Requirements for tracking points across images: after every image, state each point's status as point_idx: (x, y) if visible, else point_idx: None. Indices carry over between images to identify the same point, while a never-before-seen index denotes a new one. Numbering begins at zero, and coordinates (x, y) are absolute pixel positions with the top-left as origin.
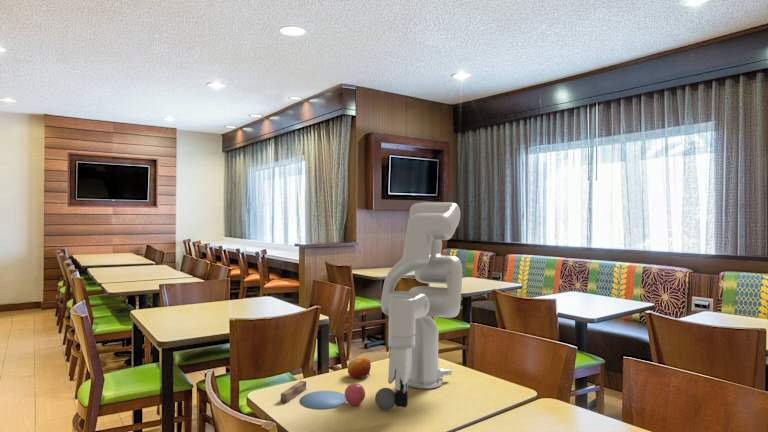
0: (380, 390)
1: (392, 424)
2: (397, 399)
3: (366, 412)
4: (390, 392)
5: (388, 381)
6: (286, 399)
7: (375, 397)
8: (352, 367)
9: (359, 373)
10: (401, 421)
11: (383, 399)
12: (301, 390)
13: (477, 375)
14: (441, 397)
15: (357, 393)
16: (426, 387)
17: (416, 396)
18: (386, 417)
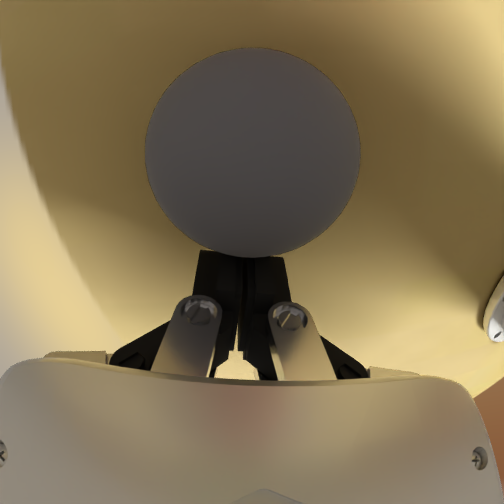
0: (220, 121)
1: (57, 212)
2: (197, 267)
3: (171, 9)
4: (205, 242)
5: (5, 374)
6: None
7: (212, 56)
8: None
9: None
10: (104, 247)
11: (145, 158)
12: None
13: (500, 374)
14: (405, 352)
15: None
16: (490, 306)
17: (439, 278)
18: (121, 160)
